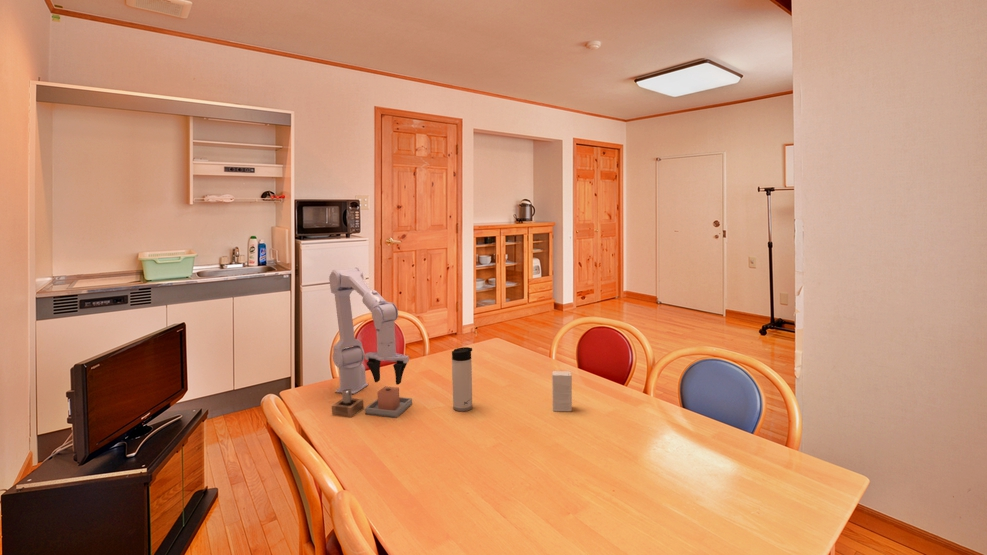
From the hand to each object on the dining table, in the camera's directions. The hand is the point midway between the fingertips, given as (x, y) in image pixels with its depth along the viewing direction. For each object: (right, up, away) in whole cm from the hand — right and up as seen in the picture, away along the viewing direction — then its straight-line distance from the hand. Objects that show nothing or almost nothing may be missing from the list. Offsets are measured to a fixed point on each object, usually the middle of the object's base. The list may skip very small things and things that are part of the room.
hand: (387, 382), depth 154 cm
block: (0, -8, +1) cm, 8 cm away
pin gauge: (-13, -9, 0) cm, 16 cm away
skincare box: (+56, -9, -1) cm, 57 cm away
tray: (0, -9, +1) cm, 9 cm away
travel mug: (+24, -9, +1) cm, 26 cm away
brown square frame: (-13, -9, 0) cm, 16 cm away
